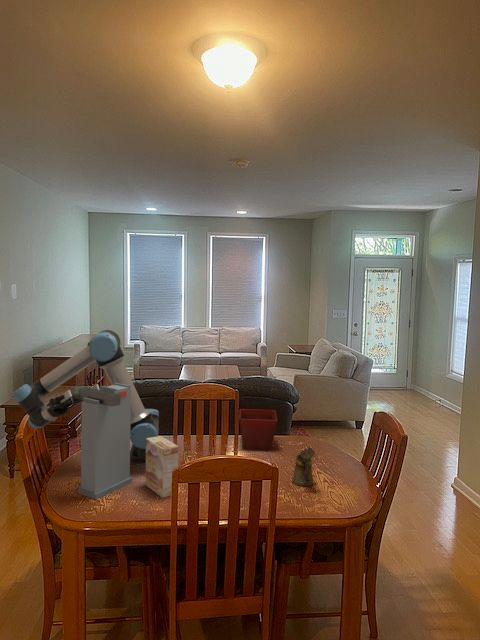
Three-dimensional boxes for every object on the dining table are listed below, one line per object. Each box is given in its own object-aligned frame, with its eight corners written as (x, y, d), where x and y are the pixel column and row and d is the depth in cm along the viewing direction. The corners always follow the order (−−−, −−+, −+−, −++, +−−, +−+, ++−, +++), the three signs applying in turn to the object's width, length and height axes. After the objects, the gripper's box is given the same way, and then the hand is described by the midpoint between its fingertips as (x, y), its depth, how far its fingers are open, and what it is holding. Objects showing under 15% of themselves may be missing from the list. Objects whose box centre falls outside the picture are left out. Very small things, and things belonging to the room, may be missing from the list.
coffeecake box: (144, 484, 190) (145, 438, 189) (160, 480, 195) (161, 435, 193) (161, 498, 179) (162, 448, 177) (178, 493, 183) (179, 445, 182)
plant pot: (276, 453, 232) (277, 420, 231) (238, 451, 232) (239, 418, 231) (274, 440, 251) (275, 409, 250) (238, 439, 251) (239, 408, 250)
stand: (78, 492, 181) (78, 390, 178) (115, 476, 197) (116, 382, 194) (95, 499, 176) (96, 393, 173) (132, 482, 192) (133, 385, 189)
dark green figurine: (295, 491, 188) (297, 448, 187) (290, 477, 202) (292, 437, 201) (317, 491, 189) (319, 448, 188) (310, 478, 202) (312, 437, 201)
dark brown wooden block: (69, 397, 186) (69, 386, 186) (78, 395, 189) (78, 385, 189) (112, 406, 173) (112, 395, 173) (120, 404, 177) (120, 393, 177)
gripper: (82, 411, 204) (111, 393, 194) (30, 424, 183) (60, 405, 173) (76, 395, 206) (105, 376, 195) (24, 406, 185) (54, 386, 174)
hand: (84, 390), depth 184 cm, fingers open, 13 cm apart
